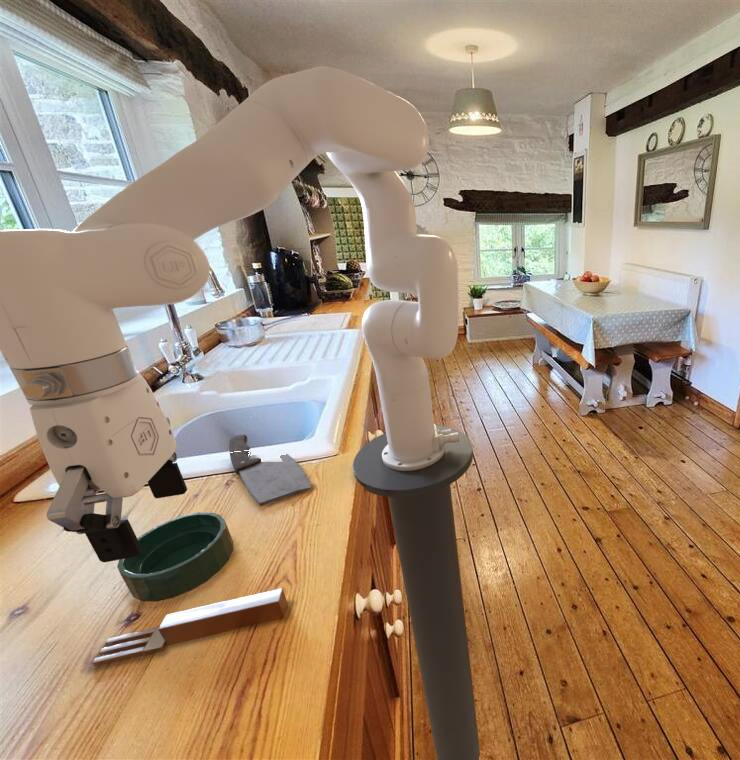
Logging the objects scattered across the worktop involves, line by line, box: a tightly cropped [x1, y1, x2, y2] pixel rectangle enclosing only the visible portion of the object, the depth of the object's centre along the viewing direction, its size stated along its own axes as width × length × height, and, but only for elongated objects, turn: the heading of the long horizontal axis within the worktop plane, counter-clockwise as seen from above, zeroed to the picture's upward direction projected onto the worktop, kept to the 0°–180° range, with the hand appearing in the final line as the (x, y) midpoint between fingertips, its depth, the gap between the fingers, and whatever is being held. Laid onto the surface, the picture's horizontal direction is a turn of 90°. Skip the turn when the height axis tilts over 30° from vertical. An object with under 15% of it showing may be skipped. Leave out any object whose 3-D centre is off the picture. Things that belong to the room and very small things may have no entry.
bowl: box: [116, 511, 235, 603], centre depth 59 cm, size 12×12×5 cm
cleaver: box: [228, 434, 312, 507], centre depth 83 cm, size 29×10×2 cm, turn 45°
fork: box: [91, 587, 289, 668], centre depth 50 cm, size 20×3×3 cm, turn 105°
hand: (149, 522), depth 44 cm, fingers open, 9 cm apart
